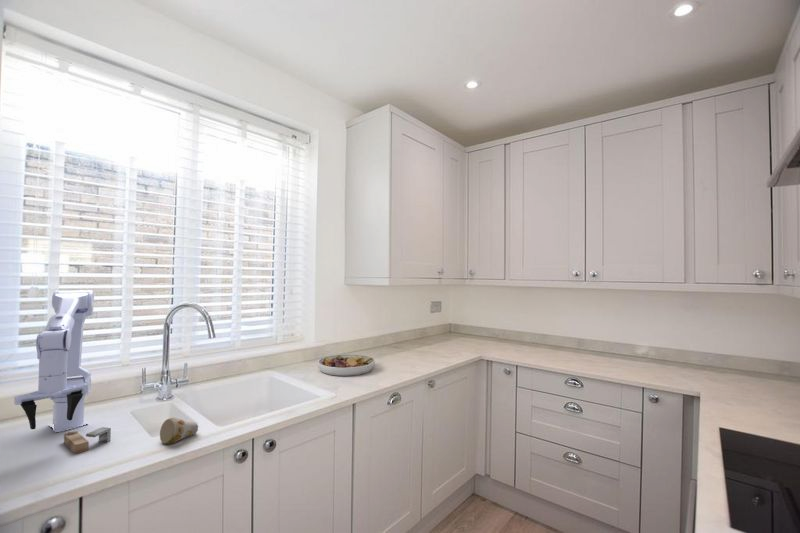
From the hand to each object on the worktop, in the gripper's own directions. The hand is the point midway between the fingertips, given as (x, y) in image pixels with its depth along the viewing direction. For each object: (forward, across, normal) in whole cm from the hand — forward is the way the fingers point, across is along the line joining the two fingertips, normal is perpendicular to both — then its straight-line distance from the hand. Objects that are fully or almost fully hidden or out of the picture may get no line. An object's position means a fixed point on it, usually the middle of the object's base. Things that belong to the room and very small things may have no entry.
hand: (51, 423), depth 102 cm
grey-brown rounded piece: (+9, +26, -18) cm, 32 cm away
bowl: (+9, +115, -1) cm, 116 cm away
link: (+8, +5, 0) cm, 10 cm away
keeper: (+8, +10, -3) cm, 13 cm away
